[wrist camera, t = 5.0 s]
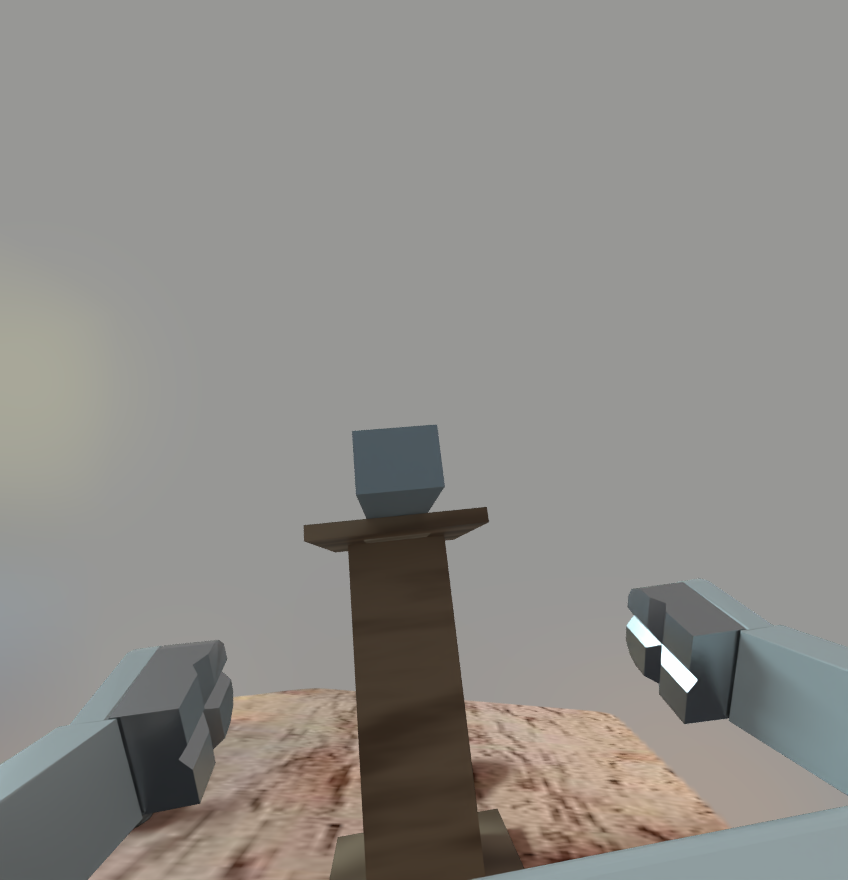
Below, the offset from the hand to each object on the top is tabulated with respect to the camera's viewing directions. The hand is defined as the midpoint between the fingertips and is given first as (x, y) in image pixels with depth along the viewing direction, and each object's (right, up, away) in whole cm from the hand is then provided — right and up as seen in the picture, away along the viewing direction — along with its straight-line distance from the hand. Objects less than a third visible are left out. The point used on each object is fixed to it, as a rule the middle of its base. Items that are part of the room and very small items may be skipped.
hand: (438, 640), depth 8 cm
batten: (-2, -2, +22) cm, 22 cm away
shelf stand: (0, -28, +20) cm, 34 cm away
